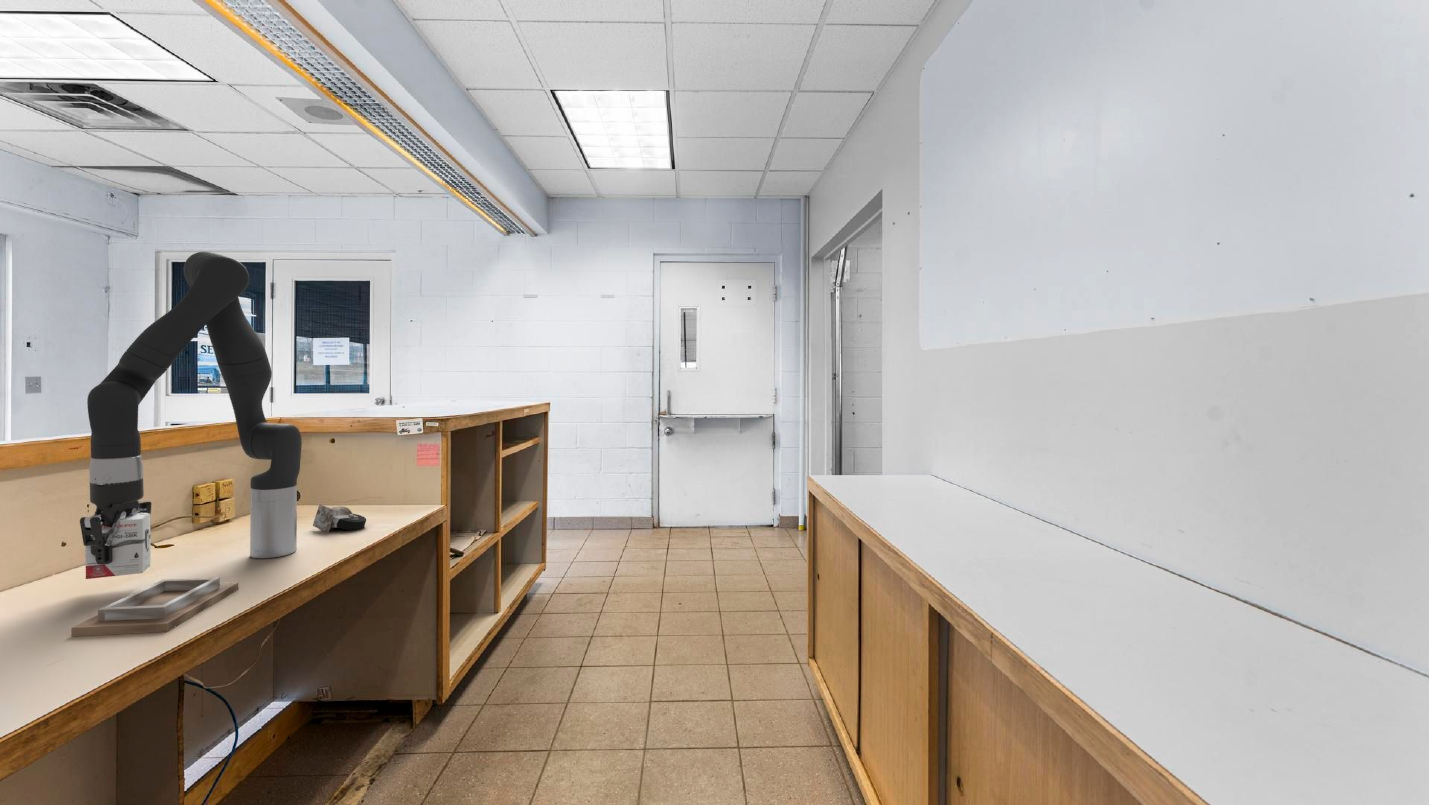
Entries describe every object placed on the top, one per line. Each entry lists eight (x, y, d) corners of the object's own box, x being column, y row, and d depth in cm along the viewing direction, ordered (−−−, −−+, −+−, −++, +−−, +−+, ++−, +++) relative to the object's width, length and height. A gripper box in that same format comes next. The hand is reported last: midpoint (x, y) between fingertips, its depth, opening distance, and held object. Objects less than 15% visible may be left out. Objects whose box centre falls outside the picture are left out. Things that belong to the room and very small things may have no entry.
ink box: (83, 580, 110) (82, 522, 110) (94, 572, 115) (93, 516, 114) (143, 573, 115) (142, 517, 114) (152, 565, 119) (151, 512, 118)
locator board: (160, 592, 115) (160, 575, 115) (238, 589, 118) (238, 573, 118) (71, 636, 95) (71, 616, 95) (167, 631, 98) (167, 612, 98)
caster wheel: (368, 535, 168) (337, 538, 158) (342, 523, 171) (310, 525, 162) (375, 514, 168) (344, 516, 159) (348, 502, 172) (317, 503, 162)
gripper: (125, 471, 120) (127, 547, 121) (60, 485, 106) (63, 571, 107) (165, 471, 121) (167, 546, 122) (107, 485, 107) (109, 570, 108)
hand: (118, 557), depth 115 cm, fingers closed on ink box, 6 cm apart
